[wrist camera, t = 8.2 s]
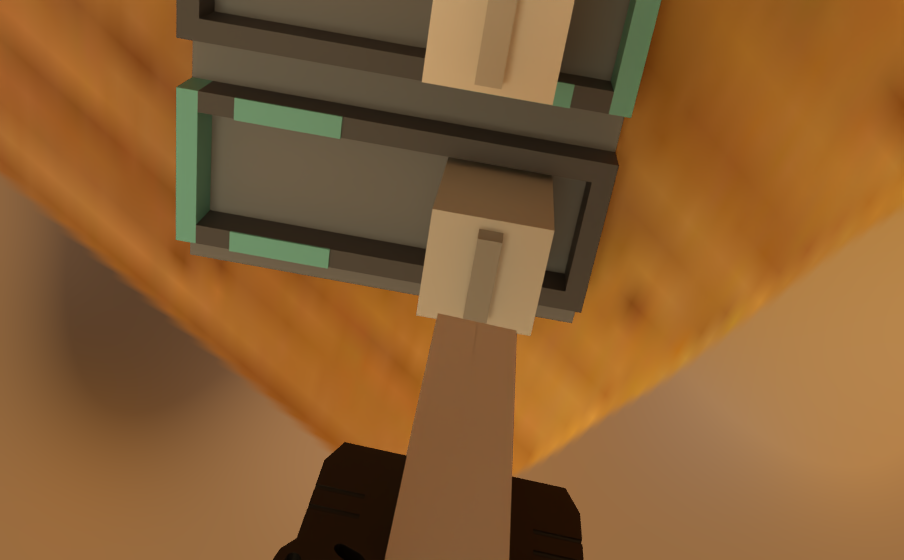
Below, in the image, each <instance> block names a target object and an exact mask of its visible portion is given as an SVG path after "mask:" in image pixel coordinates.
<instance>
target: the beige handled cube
mask: <svg viewBox="0 0 904 560" xmlns="http://www.w3.org/2000/svg"><path fill="white" fill-rule="evenodd" d="M554 231H555V229H554V203H553V177H552V175H547V174H541V173H536V172H530V171H525V170H519V169H513V168H508V167H502V166H497V165H491V164H485V163H480V162H474V161H468V160H463V159H457V158H452V157H448V160H447V163H446V167H445V170H444V173H443V176H442V180H441V183H440V186H439V189H438V193H437V196H436V199H435V202H434V206H433V209H432V215H431V222H430V228H429V235H428V241H427V248H426V254H425V261H424V267H423V274H422V280H421V287H420V293H419V300H418V306H417V313H416V315H418V316H423V317H429V318H434V319H437V315H438V313H439V314H444V315H448V316H453V317H458V318H462V319H467V320H471V321H476V322H480V323H485V324H489V325H494V326H498V327H503V328H507V329H512V330H516V331H517V334H523V335H528V336H531V332H532V327H533V323H534V318H535V314H536V310H537V305H538V301H539V297H540V292H541V288H542V283H543V279H544V275H545V270H546V266H547V262H548V257H549V253H550V249H551V244H552V240H553V235H554Z"/></svg>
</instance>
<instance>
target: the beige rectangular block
mask: <svg viewBox="0 0 904 560" xmlns="http://www.w3.org/2000/svg"><path fill="white" fill-rule="evenodd" d="M574 1H575V0H433V4H432V11H431V18H430V25H429V33H428V40H427V47H426V55H425V62H424V69H423V76H422V82H424V83H430V84H435V85H441V86H447V87H452V88H458V89H464V90H469V91H475V92H481V93H486V94H492V95H497V96H503V97H509V98H514V99H520V100H526V101H531V102H537V103H543V104H548V105H553V100H554V96H555V91H556V86H557V82H558V77H559V72H560V67H561V63H562V58H563V53H564V48H565V44H566V39H567V34H568V30H569V25H570V20H571V15H572V11H573V6H574Z"/></svg>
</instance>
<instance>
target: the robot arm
mask: <svg viewBox="0 0 904 560" xmlns="http://www.w3.org/2000/svg"><path fill="white" fill-rule="evenodd" d="M516 338H517V331H516V330H512V329H507V328H503V327H498V326H494V325H489V324H485V323H480V322H476V321H471V320H467V319H462V318H458V317H453V316H448V315H444V314H439V313H438V315H437V319H436V324H435V328H434V333H433V337H432V342H431V346H430V351H429V355H428V360H427V364H426V369H425V373H424V378H423V382H422V387H421V391H420V396H419V400H418V404H417V409H416V413H415V418H414V422H413V427H412V431H411V436H410V441H409V445H408V450H407V455H406V456H405V455H401V454H396V453H392V452H387V451H383V450H378V449H373V448H369V447H364V446H360V445H355V444H351V443H346V442H345V443H343V444H342V445H341V446H340V447H339V448H338V449H337V450H335V451H334V452H333V453H332V454H331V455H330V456H329V457H328V458H326V459H325V460H324V463H323V466H322V469H321V471H320V475H319V477H318V480H317V483H316V487H315V489H314V491H313V495H312V497H311V500H310V503H309V506H308V509H307V512H306V514H305V517H304V519H303V522H302V525H301V528H300V531H299V533H298V537H297V538H296V539H295V540H293V541H291V542H290V543H288V544H287V545H285V546H284V547H282V548H281V549H280V550H279V551H278V553H277V554H276V556H275V557H274V559H273V560H583V547H582V544H581V541H582V535H581V521H580V513H579V511H578V509H577V508H576V506H575V504H574V502H573V501H572V499H571V497H570V495H569V494H568V492H567V490H566V489H565V488H561V487H557V486H553V485H548V484H544V483H539V482H534V481H529V480H525V479H520V478H516V477H512V459H513V429H514V399H515V368H516Z"/></svg>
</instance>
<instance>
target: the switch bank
mask: <svg viewBox="0 0 904 560" xmlns="http://www.w3.org/2000/svg"><path fill="white" fill-rule="evenodd" d="M660 3H661V0H575V1H574V6H573V11H572V15H571V20H570V25H569V30H568V34H567V39H566V44H565V48H564V53H563V58H562V63H561V67H560V72H559V77H558V82H557V86H556V91H555V96H554V100H553V105H548V104H543V103H537V102H531V101H526V100H520V99H514V98H509V97H503V96H497V95H492V94H486V93H481V92H475V91H469V90H464V89H458V88H452V87H447V86H441V85H435V84H430V83H424V82H422V76H423V69H424V62H425V55H426V47H427V40H428V33H429V25H430V18H431V11H432V4H433V0H177V30H176V38H181V39H187V40H193V71H192V78H190V79H189V80H187V81H185V82H184V83H182V84H181V85H179V86H178V87H176V240H181V241H186V242H191V244H190V254H192V255H198V256H203V257H209V258H214V259H220V260H225V261H231V262H236V263H242V264H247V265H253V266H259V267H264V268H270V269H275V270H281V271H286V272H292V273H297V274H303V275H308V276H314V277H319V278H325V279H331V280H336V281H342V282H347V283H353V284H358V285H364V286H369V287H375V288H380V289H386V290H391V291H397V292H402V293H408V294H414V295H419V293H420V287H421V280H422V274H423V267H424V261H425V254H426V248H427V241H428V235H429V228H430V222H431V215H432V209H433V206H434V202H435V199H436V196H437V193H438V189H439V186H440V183H441V180H442V176H443V173H444V170H445V167H446V163H447V160H448V157H452V158H457V159H463V160H468V161H474V162H480V163H485V164H491V165H497V166H502V167H508V168H513V169H519V170H525V171H530V172H536V173H541V174H547V175H552V177H553V203H554V229H555V231H554V235H553V240H552V244H551V249H550V253H549V257H548V262H547V266H546V270H545V275H544V279H543V283H542V288H541V292H540V297H539V301H538V305H537V310H536V314H535V317H541V318H546V319H552V320H557V321H563V322H569V323H572V321H573V317H574V313H575V312H580V313H581V311H582V307H583V303H584V299H585V295H586V291H587V287H588V283H589V280H590V276H591V272H592V268H593V264H594V260H595V256H596V252H597V248H598V245H599V241H600V237H601V233H602V229H603V225H604V221H605V217H606V213H607V210H608V206H609V202H610V198H611V194H612V190H613V186H614V182H615V178H616V175H617V171H618V167H619V165H618V161H617V157H616V153H615V151H616V147H617V143H618V139H619V135H620V131H621V127H622V124H623V120H624V117H628V118H631V116H632V112H633V108H634V105H635V101H636V97H637V93H638V89H639V85H640V81H641V77H642V73H643V70H644V66H645V62H646V58H647V54H648V50H649V46H650V42H651V38H652V35H653V31H654V27H655V23H656V19H657V15H658V11H659V7H660Z"/></svg>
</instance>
